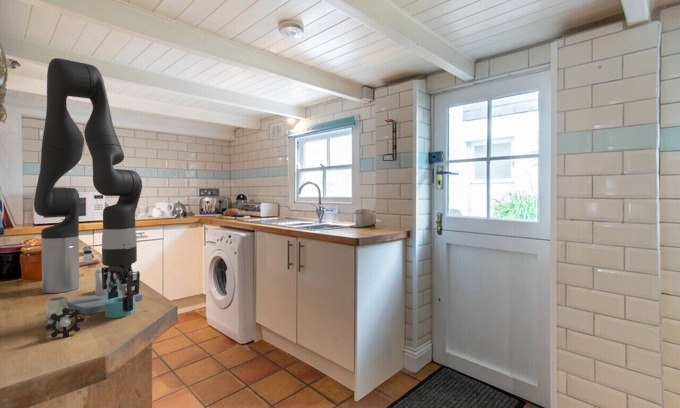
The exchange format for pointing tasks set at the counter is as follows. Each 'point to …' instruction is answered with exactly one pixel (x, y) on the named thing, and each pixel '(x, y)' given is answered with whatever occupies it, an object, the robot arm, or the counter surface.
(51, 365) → the counter surface
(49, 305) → the valve
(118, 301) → the collar
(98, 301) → the post stand
